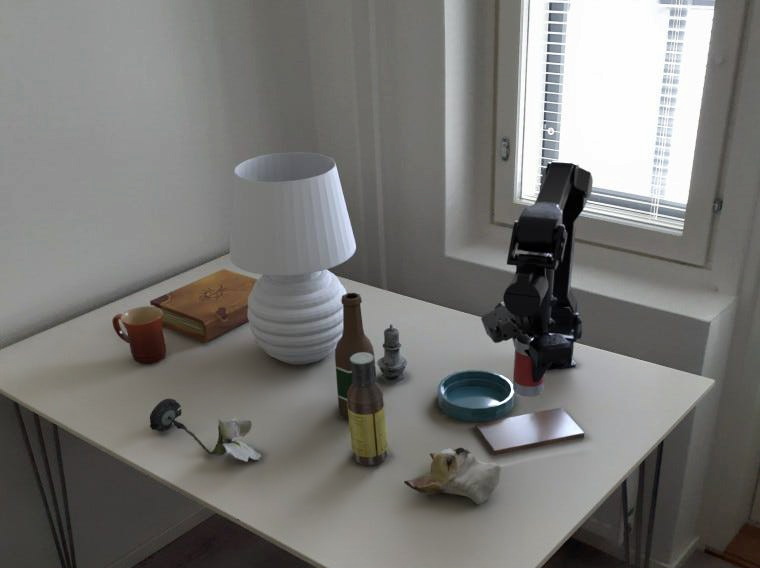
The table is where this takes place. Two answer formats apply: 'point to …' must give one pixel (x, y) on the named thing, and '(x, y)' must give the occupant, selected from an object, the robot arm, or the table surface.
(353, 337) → the beer bottle
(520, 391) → the can
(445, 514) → the table surface
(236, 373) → the table surface
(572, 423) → the board
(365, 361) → the sauce bottle
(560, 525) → the table surface
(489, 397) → the dish
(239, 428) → the artificial flower
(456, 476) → the ceramic sculpture
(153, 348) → the mug
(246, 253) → the table lamp
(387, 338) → the grey tall rounded piece
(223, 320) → the diary
